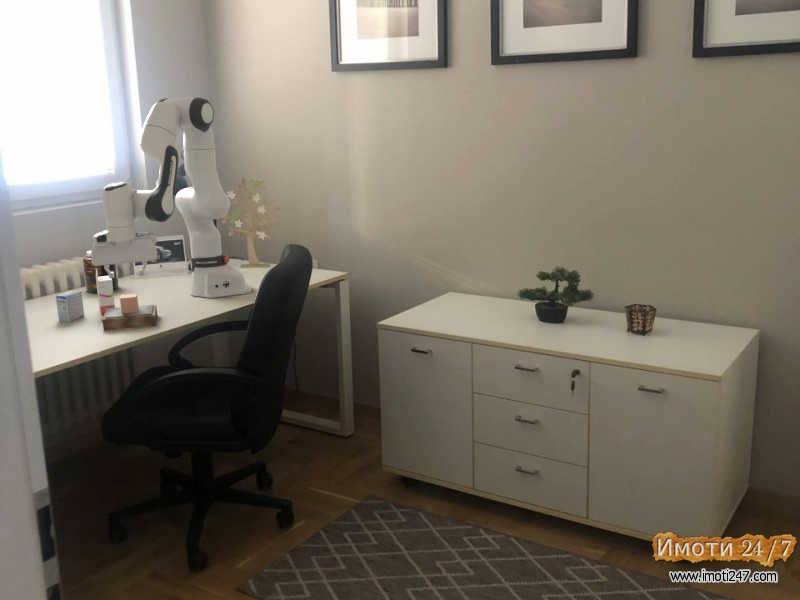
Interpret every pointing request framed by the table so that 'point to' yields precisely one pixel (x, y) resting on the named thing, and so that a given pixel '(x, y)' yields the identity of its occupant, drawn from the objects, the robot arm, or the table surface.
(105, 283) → the ink cartridge box
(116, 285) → the jar
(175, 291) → the table surface
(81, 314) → the medicine box
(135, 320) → the walnut riser
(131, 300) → the terracotta cube
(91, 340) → the table surface
